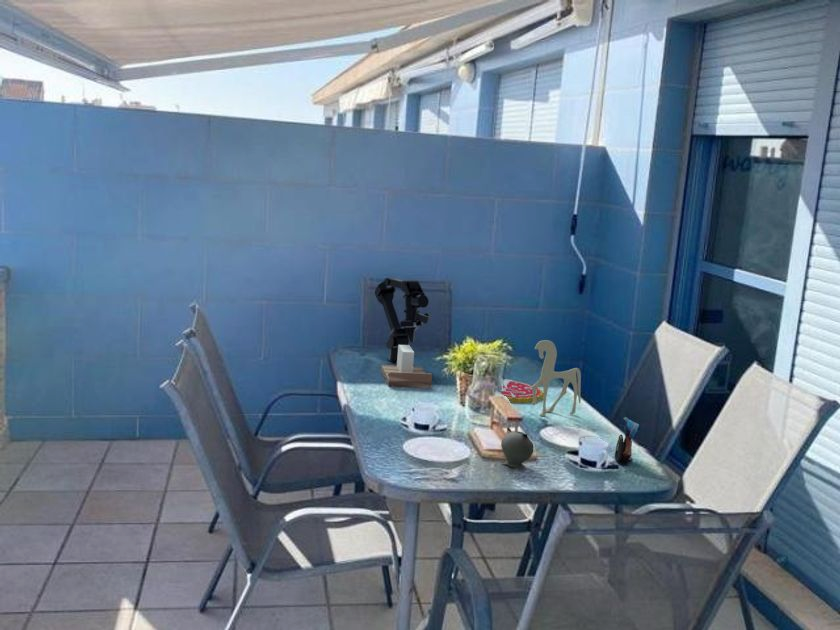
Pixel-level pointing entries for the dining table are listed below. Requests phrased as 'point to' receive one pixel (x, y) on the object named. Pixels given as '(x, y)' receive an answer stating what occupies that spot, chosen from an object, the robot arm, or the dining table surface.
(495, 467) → the dining table surface
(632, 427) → the figurine
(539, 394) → the decorative sign
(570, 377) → the sculpture
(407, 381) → the trap deck
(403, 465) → the dining table surface
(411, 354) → the light gray block
